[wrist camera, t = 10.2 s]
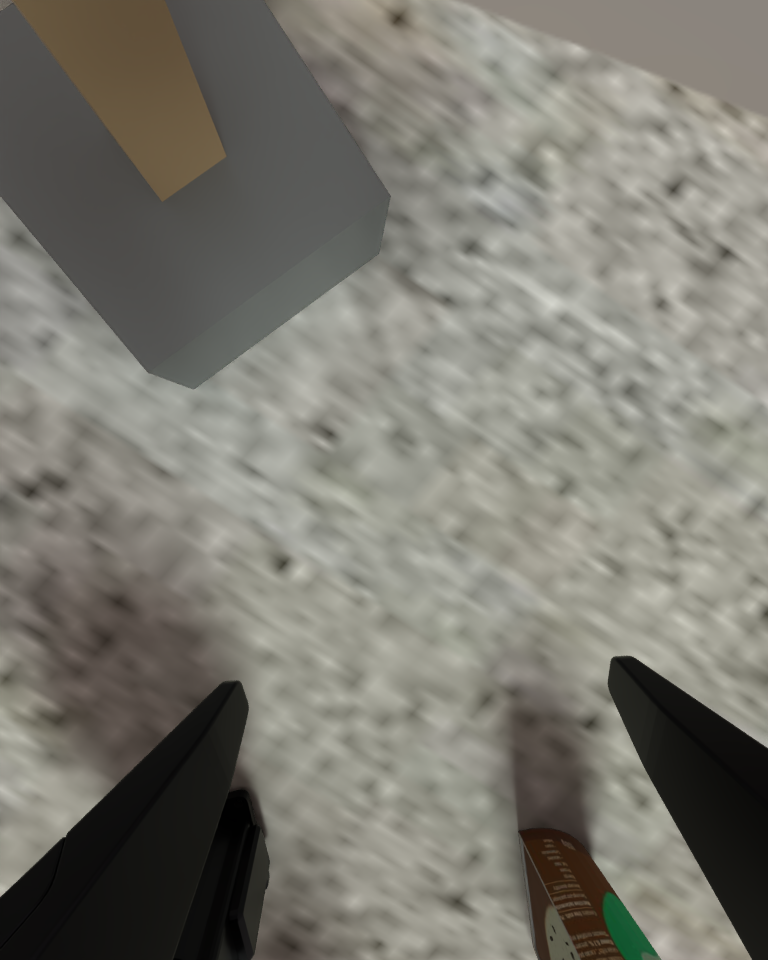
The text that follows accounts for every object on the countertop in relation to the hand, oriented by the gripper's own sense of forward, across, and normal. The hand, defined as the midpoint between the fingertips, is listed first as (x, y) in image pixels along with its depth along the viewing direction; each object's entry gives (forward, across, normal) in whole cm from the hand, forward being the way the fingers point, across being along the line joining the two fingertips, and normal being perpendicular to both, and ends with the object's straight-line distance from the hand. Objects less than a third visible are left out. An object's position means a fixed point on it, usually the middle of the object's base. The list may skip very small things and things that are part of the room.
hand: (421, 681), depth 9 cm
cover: (+14, +8, -15) cm, 22 cm away
